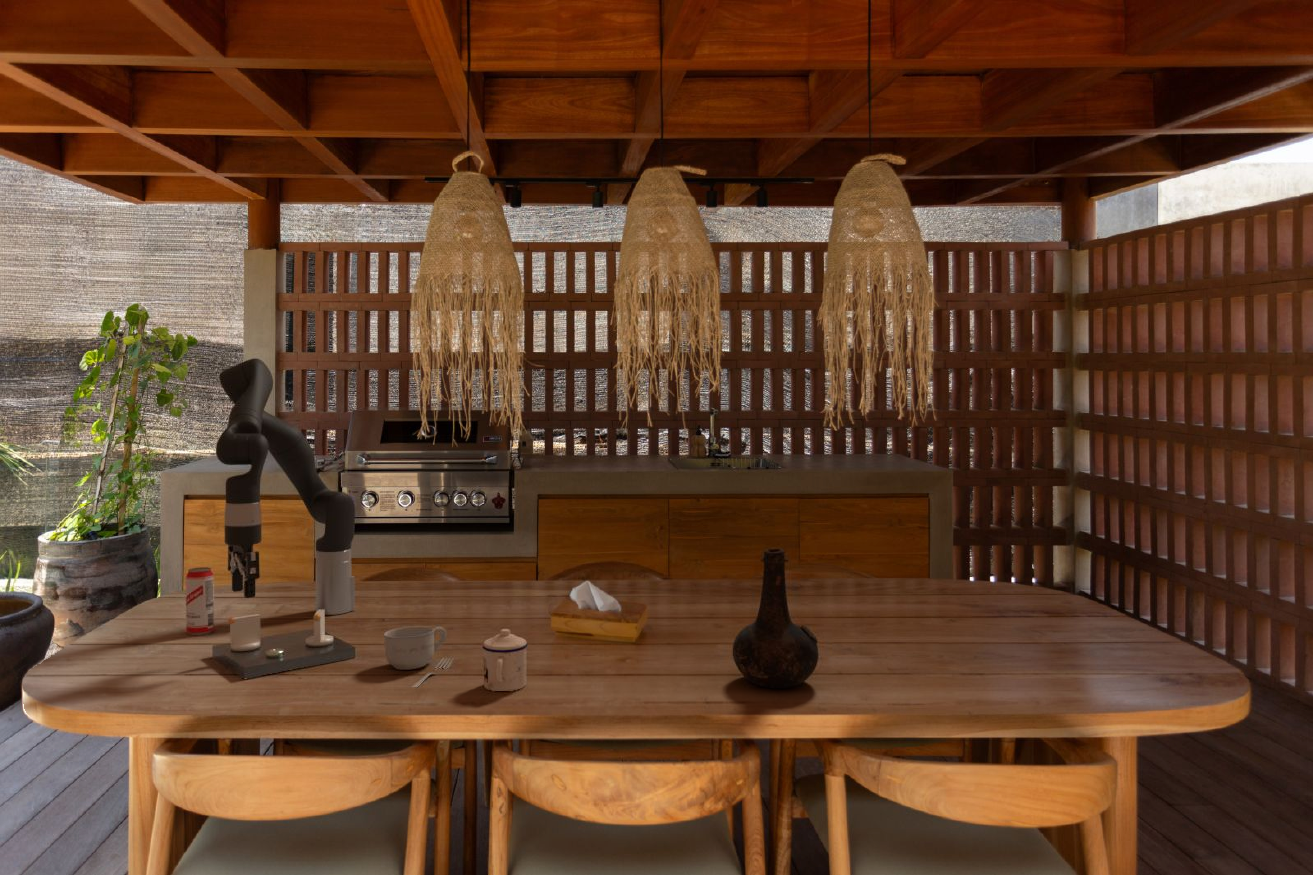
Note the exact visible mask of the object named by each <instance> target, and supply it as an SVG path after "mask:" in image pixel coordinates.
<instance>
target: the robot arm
mask: <svg viewBox="0 0 1313 875" xmlns="http://www.w3.org/2000/svg"><path fill="white" fill-rule="evenodd" d="M218 378H219V383H220V386H221V387H222V389H223V391H224V393H226V396H227V397H228V398H229V399H230V400H231V402H232V403H233V404H234V405H233V407H232V408H231V410H230V412H229V415H228V423H227V427H226V428H225V429H224V430H223V431H222V433H221V434H220V436H219V438H218V439H217V442H216V446H215V455H216V457H217V460H219V462H220V463H222V464H224V465H226V466H247V465H248V466H249V465H250V468H249V470H248V471H247V472H245V473H242V474H237V475H232V476H229V477H227V479H226V481H225V507H224V514H223V515H224V519H223V520H224V544H225V545H228V546H227V570H228V572H229V573H230V576H231V591H233V592H235V593H237V592H242V591H243V597H244V598H246V599H250V598H255V597H256V581H257V579H260V577H261V576H260V552H259V551H255V550H254V545H257V544H260V543H261V542H262V508H261V480H262V473H263V470H264V467H265V463H266V459H267V457H268V453H270V455H271V456H272V457H273V460H275V461H276V463H277V464H278V466H279V467H280V468H281V469H282V471H283V473H284V474H285V475H286V477H287V478H288V479H289V482H290V483H291V484H292V485H293V486H294V488H295V489H296V491H297V493H298V494H299V496H300V498H301V500H302V502H303V504H304V505H305V508H306V510H307V511H308V514H310V516H311V517H312V518H313V520H314V521H315V522H316V523H320V524H323V525H325V526H324V534H323V535H322V537H318V538H317V539H316V541H315V595H316V596H315V598H316V599H315V602H316V604H315V610H316V611H315V613H316V612H317V611H318V610H323V609H324V612H325V615H326V616H328V615H329V616H330V615H331V616H332V615H334V616H335V615H341V614H346V613H349V612H351V611H355V608H356V607H355V603H356V602H355V576H354V575H352V543H353V540H354V538H355V527H356V526H355V524H356V523H355V522H356V506H355V502H354V499H353V497H352V496H351V495H350V494H349V493H347V492H345V491H344V492H343V491H335V490H331V489H329V487H327V485H326V484H325V483H324V481H323V480H322V478H321V477H320V475H319V473H318V471H317V468H316V461H315V454H314V451H313V449H312V447H311V445H310V442H308V440H307V439H306V437H305V436H304V434H303V432H301V431H302V430H300V429H299V428H298V427H297V426H295V425H294V424H292V423H290V422H289V421H286V420H284V419H282V418H280V417H277V416H274V414H271V413H269V412H267V411H266V410H265V408H266V406H267V403H268V401H269V398H270V395H271V393H272V392H273V391H272V390H273V388H274V378H273V375H272V373H271V370H270V368H269V367H268V366H267V364H266V363H265V362H264V361H263V360H262V359H259V358H255V357H254V358H251V359H246V360H244V361H243V362H241V363H238V364H235V365H233V366H231V367H228V368H227V369H224V370H222V371H221V372H220V374H219V376H218Z"/></svg>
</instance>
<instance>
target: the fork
mask: <svg viewBox="0 0 1313 875" xmlns="http://www.w3.org/2000/svg"><path fill="white" fill-rule="evenodd" d="M453 660H454V658H452V659H451V658H450V657H449V658H448V657H446V658H445V657H443V658H442V659H441V660H440V661H439V662H438V664H437V665H436V666H435V667H434V668H436V669H438V668H440V669H442V668H444V669H447V668H448V669H449V668H450V666H451V665H452V663H453ZM448 669H447V670H448ZM431 675H436V672H428V673H426V674H425V675H424V676H423V677H422V678H421V679H419V680H418V681H417V682H415V684H413V685H411V687H418V686H419V687H420V686H421V684H422V683H423V682H424V681H425V680H426V679H427V678H429V676H431ZM419 687H418V688H419Z"/></svg>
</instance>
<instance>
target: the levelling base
mask: <svg viewBox="0 0 1313 875" xmlns="http://www.w3.org/2000/svg"><path fill="white" fill-rule="evenodd" d="M325 635H330V636H333V643H331V644H329V645H325V646H307V645H306V642H305V639H306V638H308V637H311V636H314V628H310V629H309V628H308V629H304V630H297V631H293V632H292V631H291V632H286V633H279V634H275V635H269V636H267V635H266V636H262V637H261V636H260V647H259V648H257V649H254V650H249V651H233V650H231V645H230V642H228V643H226V642H225V643H221V644H216V645H214V644H213V645H211V646H212V648H211V649H212V652H211V653H212V657H213V659H215V660H217V661H218V662H219V663H220V664H222V665H223V664H224V666H225V667H227V668H228V669H229V668H230V669H231V670H230V669H229V670H230V671H232V672H233V673H234V672H235V673H234V674H236V673H237V674H238V675H237V674H236V675H237V676H238V677H240V678H241V677H242V678H241V679H243V678H244V679H245V678H251V679H254V678H253V677H256V678H258V677H257V676H261V677H263V676H262V675H266V674H270V673H276V674H279V673H278V672H281V671H286V670H290V669H296V668H301V669H304V667H306V668H310V667H309V666H311V667H315V666H314V665H316V666H320V664H322V665H325V664H326V665H327V664H330V663H331V664H332V663H337V662H341V660H342V661H345V659H347V660H352V659H356V646H354V645H353V644H350V643H348V642H346V641H344V640H342V639H340V638H338V637H336V636H334V635H332V634H330V633H328V632H327V631H325ZM296 670H297V669H296ZM286 672H287V671H286ZM281 673H282V672H281ZM266 676H267V675H266ZM244 679H243V680H244Z"/></svg>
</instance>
